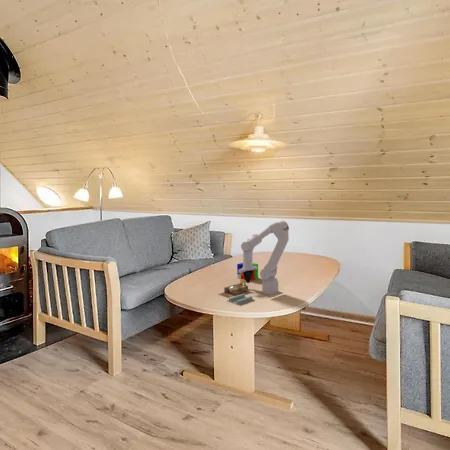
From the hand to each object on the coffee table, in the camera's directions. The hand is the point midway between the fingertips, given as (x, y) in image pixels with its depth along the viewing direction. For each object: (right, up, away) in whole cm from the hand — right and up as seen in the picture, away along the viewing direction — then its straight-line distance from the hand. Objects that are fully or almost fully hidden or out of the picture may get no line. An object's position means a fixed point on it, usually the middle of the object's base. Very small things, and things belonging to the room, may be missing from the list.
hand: (247, 282), depth 226 cm
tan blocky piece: (-4, -4, -3) cm, 6 cm away
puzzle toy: (+1, -1, +26) cm, 26 cm away
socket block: (-8, -6, -7) cm, 12 cm away
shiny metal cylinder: (-8, -5, -7) cm, 12 cm away
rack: (-5, -7, -22) cm, 23 cm away
